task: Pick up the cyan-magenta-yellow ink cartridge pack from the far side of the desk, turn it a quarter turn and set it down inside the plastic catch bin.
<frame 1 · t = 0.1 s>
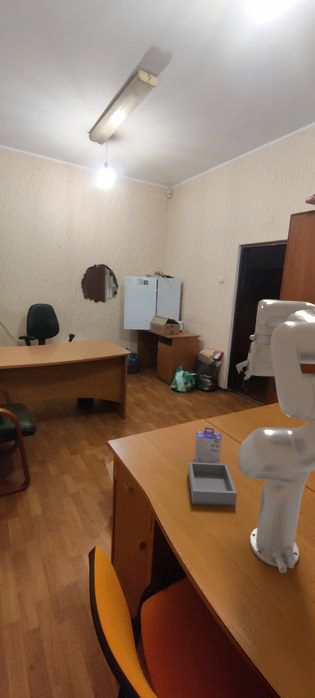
hand: (260, 390, 98), 37 cm above the table, tool pointing down, fingers open, 9 cm apart
catch bin: (210, 489, 105), on the table
ink cartridge box: (206, 462, 121), on the table
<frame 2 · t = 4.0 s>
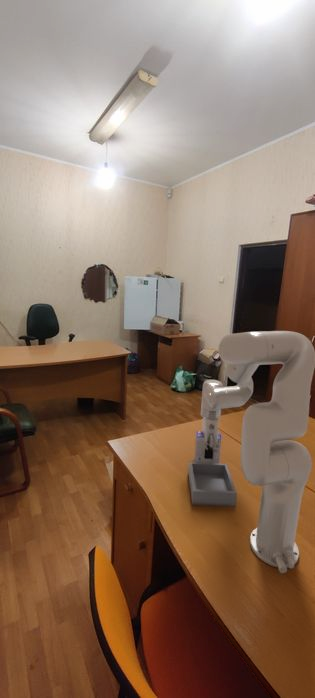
hand: (207, 453, 120), 4 cm above the table, tool pointing down, fingers closed on ink cartridge box, 6 cm apart
ink cartridge box: (206, 462, 121), on the table, touching gripper
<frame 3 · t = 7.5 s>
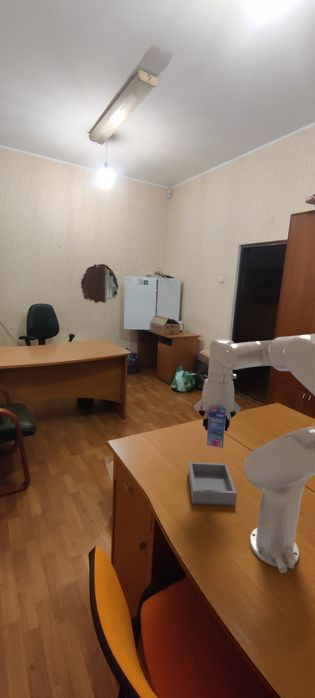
hand: (215, 428, 100), 23 cm above the table, tool pointing down, fingers closed on ink cartridge box, 5 cm apart
ink cartridge box: (214, 440, 101), point 19 cm above the table, touching gripper
when the fingers open (6 cm above the table, at t = 11.2 s): ink cartridge box stays where it is, resting on catch bin.
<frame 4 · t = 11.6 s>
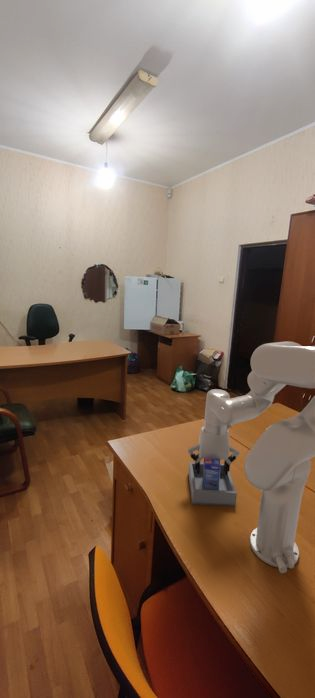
hand: (211, 471, 104), 7 cm above the table, tool pointing down, fingers open, 9 cm apart
ink cartridge box: (209, 487, 105), point 1 cm above the table, touching catch bin
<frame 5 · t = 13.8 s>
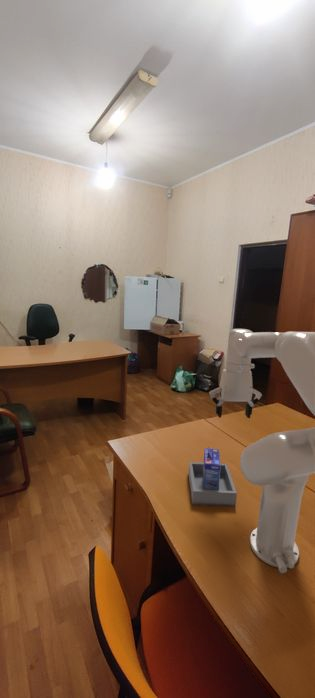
hand: (233, 416, 101), 27 cm above the table, tool pointing down, fingers open, 9 cm apart
nothing on the table moved.
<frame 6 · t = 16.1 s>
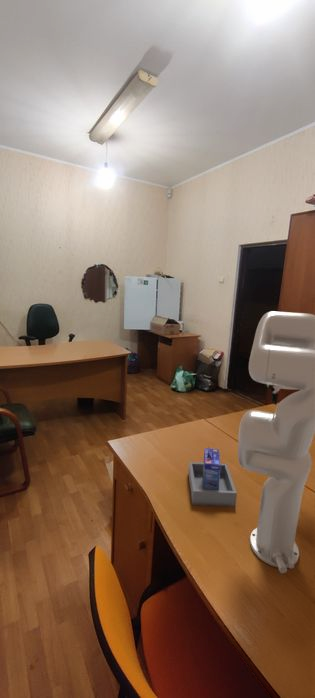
hand: (287, 403, 105), 30 cm above the table, tool pointing down, fingers open, 9 cm apart
nothing on the table moved.
at the end: ink cartridge box inside the target area on the catch bin (0.1 cm from its centre), point 0.6 cm above the catch bin's base; ink cartridge box tilted 0°; the gripper is holding nothing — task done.
